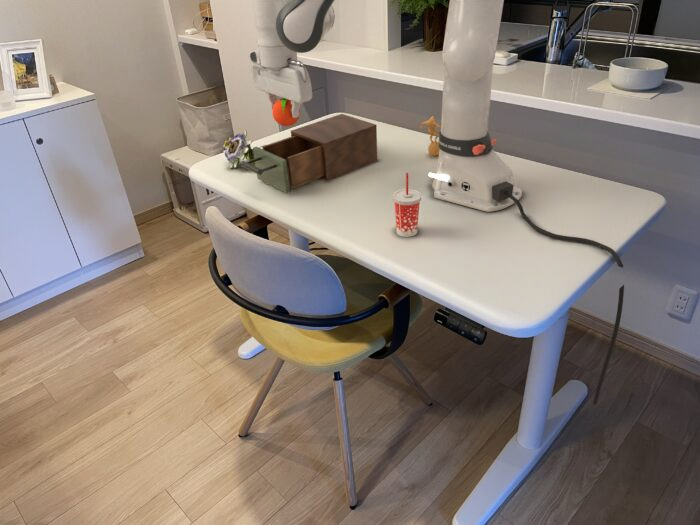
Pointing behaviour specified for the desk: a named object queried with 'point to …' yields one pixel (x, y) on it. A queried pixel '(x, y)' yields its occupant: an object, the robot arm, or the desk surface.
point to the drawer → (288, 163)
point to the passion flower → (238, 149)
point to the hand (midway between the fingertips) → (285, 113)
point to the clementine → (283, 112)
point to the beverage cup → (407, 210)
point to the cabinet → (342, 143)
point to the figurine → (431, 125)
